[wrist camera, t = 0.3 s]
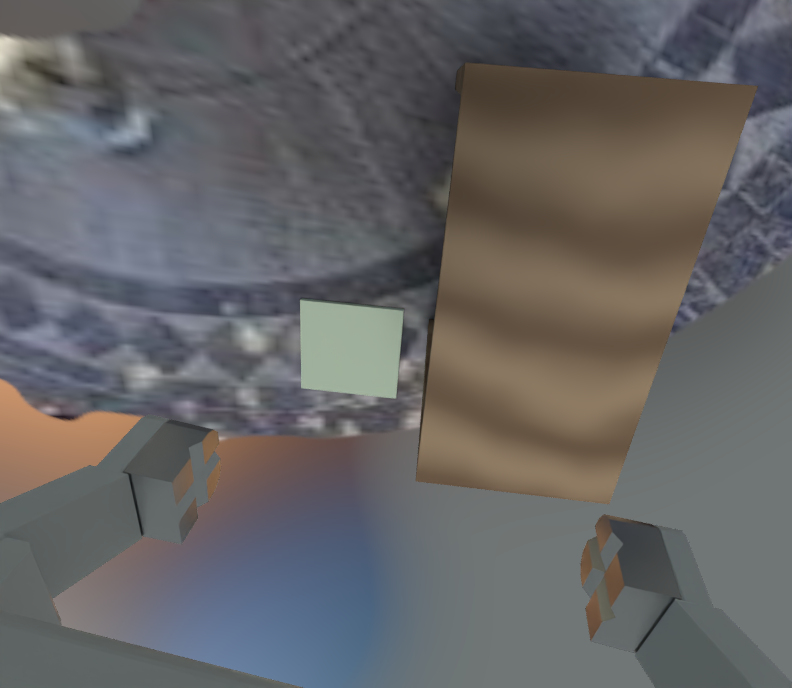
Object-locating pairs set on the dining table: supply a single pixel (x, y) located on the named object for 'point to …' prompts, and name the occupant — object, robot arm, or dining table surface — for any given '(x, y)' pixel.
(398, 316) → the sage pad
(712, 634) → the robot arm
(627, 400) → the walnut tunnel
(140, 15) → the dining table surface
